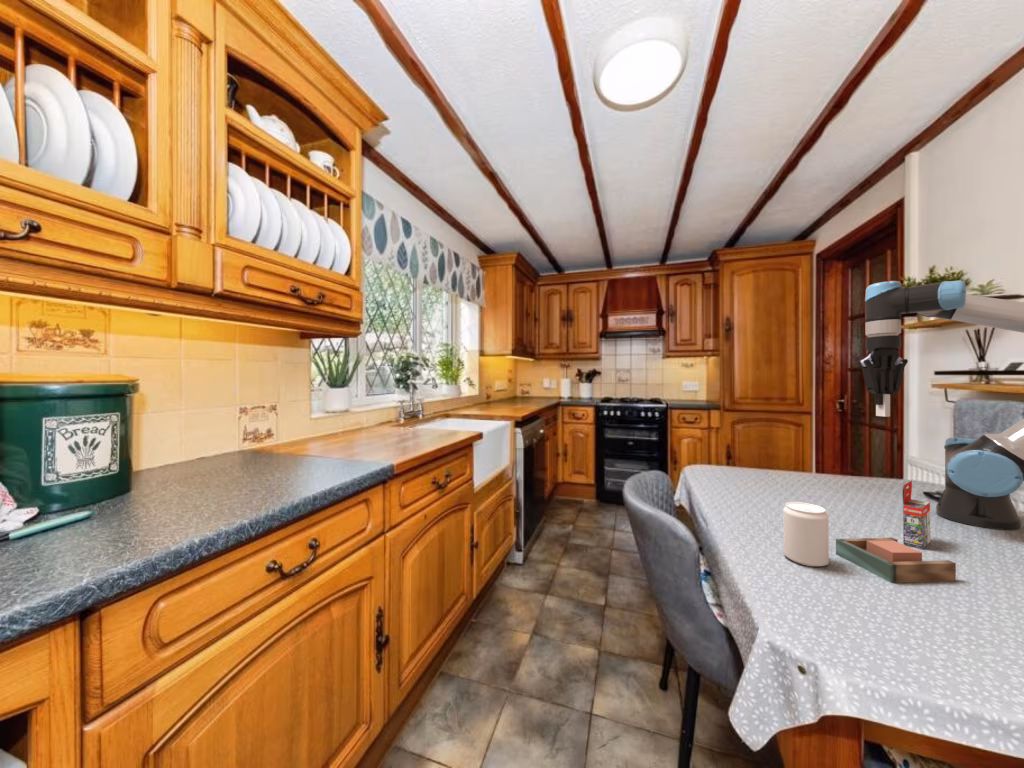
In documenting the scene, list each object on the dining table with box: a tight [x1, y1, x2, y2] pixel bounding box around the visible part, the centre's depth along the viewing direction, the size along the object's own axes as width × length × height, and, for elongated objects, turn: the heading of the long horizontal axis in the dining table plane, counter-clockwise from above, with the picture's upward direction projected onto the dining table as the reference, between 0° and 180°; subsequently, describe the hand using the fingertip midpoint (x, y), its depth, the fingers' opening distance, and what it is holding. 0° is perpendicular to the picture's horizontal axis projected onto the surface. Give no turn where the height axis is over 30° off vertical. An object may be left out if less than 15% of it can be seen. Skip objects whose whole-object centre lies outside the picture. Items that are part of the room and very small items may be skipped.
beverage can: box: [782, 501, 830, 568], centre depth 86 cm, size 8×8×12 cm
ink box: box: [901, 480, 932, 550], centre depth 94 cm, size 4×8×15 cm, turn 123°
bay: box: [835, 537, 957, 583], centre depth 82 cm, size 14×12×4 cm
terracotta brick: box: [867, 540, 923, 562], centre depth 82 cm, size 6×6×4 cm
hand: (882, 416), depth 112 cm, fingers closed
